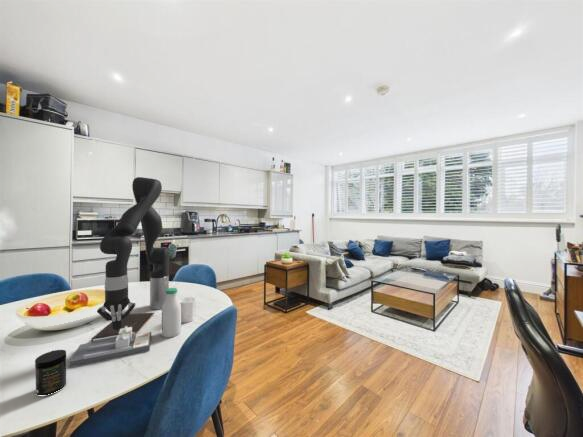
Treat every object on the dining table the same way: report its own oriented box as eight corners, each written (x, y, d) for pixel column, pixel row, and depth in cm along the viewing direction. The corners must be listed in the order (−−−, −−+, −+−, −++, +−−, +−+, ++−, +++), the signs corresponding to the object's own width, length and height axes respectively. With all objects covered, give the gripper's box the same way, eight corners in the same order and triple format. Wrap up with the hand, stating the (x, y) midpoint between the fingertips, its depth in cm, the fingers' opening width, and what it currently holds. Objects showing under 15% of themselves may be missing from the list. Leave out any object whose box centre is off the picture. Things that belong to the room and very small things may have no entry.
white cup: (189, 324, 118) (189, 303, 117) (175, 322, 119) (175, 302, 119) (198, 317, 125) (198, 297, 125) (185, 315, 127) (185, 296, 127)
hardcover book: (154, 316, 126) (154, 312, 126) (134, 340, 103) (134, 334, 103) (119, 318, 123) (119, 314, 123) (91, 343, 101) (91, 337, 101)
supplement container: (71, 386, 76) (70, 353, 75) (41, 401, 70) (41, 365, 69) (60, 379, 79) (60, 347, 78) (31, 393, 72) (30, 358, 72)
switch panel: (80, 349, 95) (80, 341, 95) (151, 336, 106) (151, 329, 106) (68, 367, 84) (68, 359, 84) (149, 351, 95) (149, 343, 95)
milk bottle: (184, 331, 111) (185, 287, 110) (171, 339, 104) (171, 292, 103) (171, 328, 113) (171, 285, 113) (157, 336, 106) (157, 290, 105)
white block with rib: (117, 345, 94) (117, 333, 94) (129, 342, 96) (129, 331, 96) (115, 350, 91) (115, 338, 91) (128, 348, 93) (128, 336, 93)
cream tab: (120, 337, 100) (120, 327, 100) (132, 335, 102) (132, 325, 102) (118, 342, 96) (118, 331, 96) (130, 340, 98) (130, 329, 98)
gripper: (137, 281, 103) (137, 322, 104) (98, 285, 98) (99, 328, 98) (135, 287, 97) (135, 330, 97) (93, 291, 91) (93, 337, 92)
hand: (117, 329), depth 98 cm, fingers closed
